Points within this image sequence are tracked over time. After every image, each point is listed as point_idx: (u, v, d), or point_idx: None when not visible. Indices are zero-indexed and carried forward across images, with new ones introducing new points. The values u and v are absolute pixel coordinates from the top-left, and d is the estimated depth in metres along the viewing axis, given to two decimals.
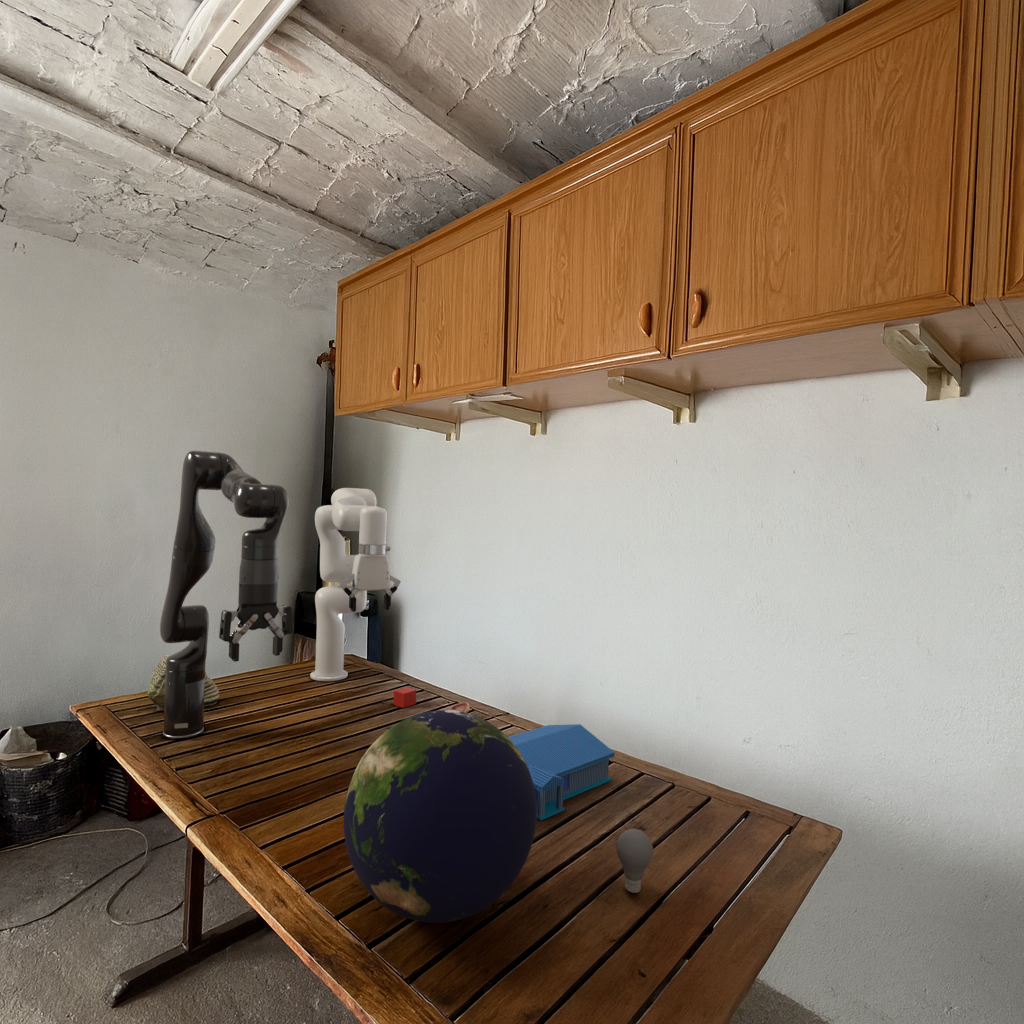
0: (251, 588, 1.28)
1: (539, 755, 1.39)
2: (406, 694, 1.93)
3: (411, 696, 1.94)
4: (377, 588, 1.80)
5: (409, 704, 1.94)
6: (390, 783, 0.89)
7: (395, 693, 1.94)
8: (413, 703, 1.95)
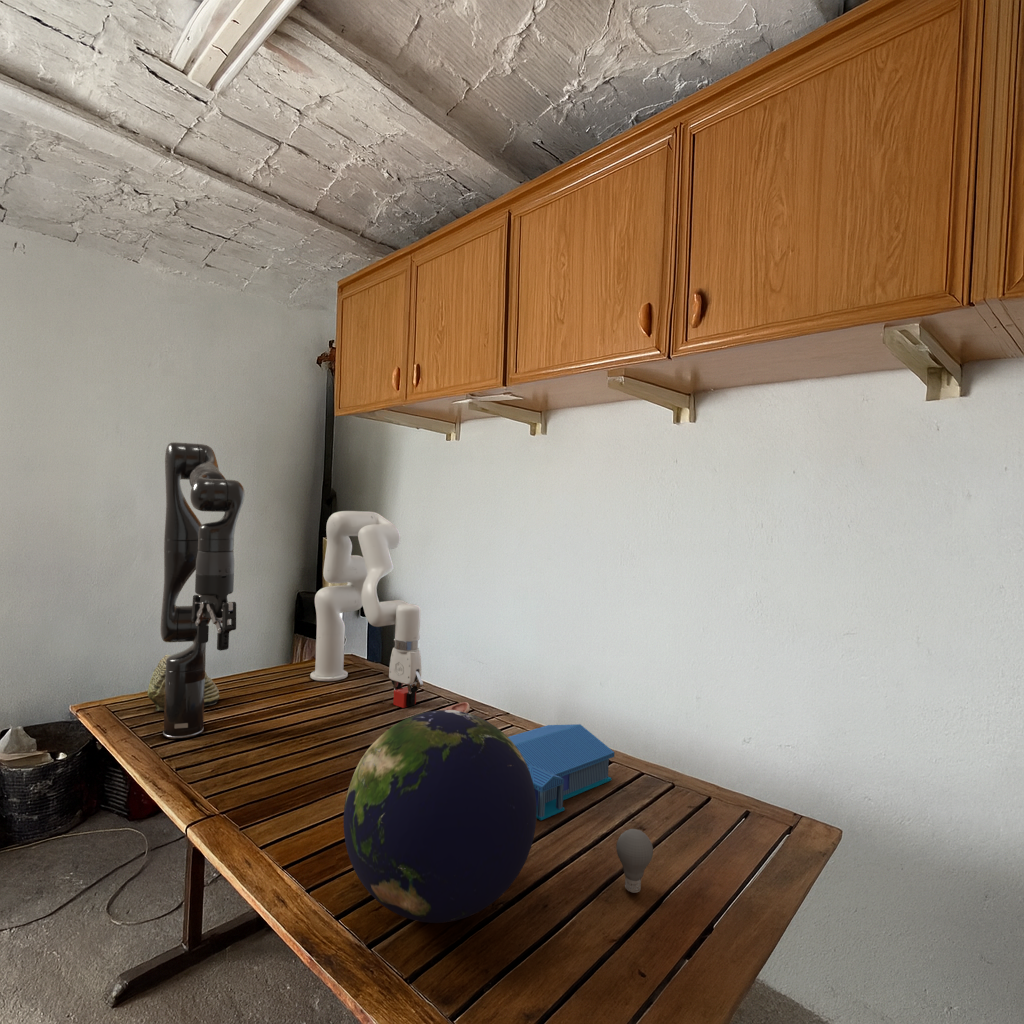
0: (233, 577, 1.37)
1: (539, 755, 1.39)
2: (406, 694, 1.93)
3: None
4: None
5: None
6: (390, 783, 0.89)
7: (395, 693, 1.94)
8: None
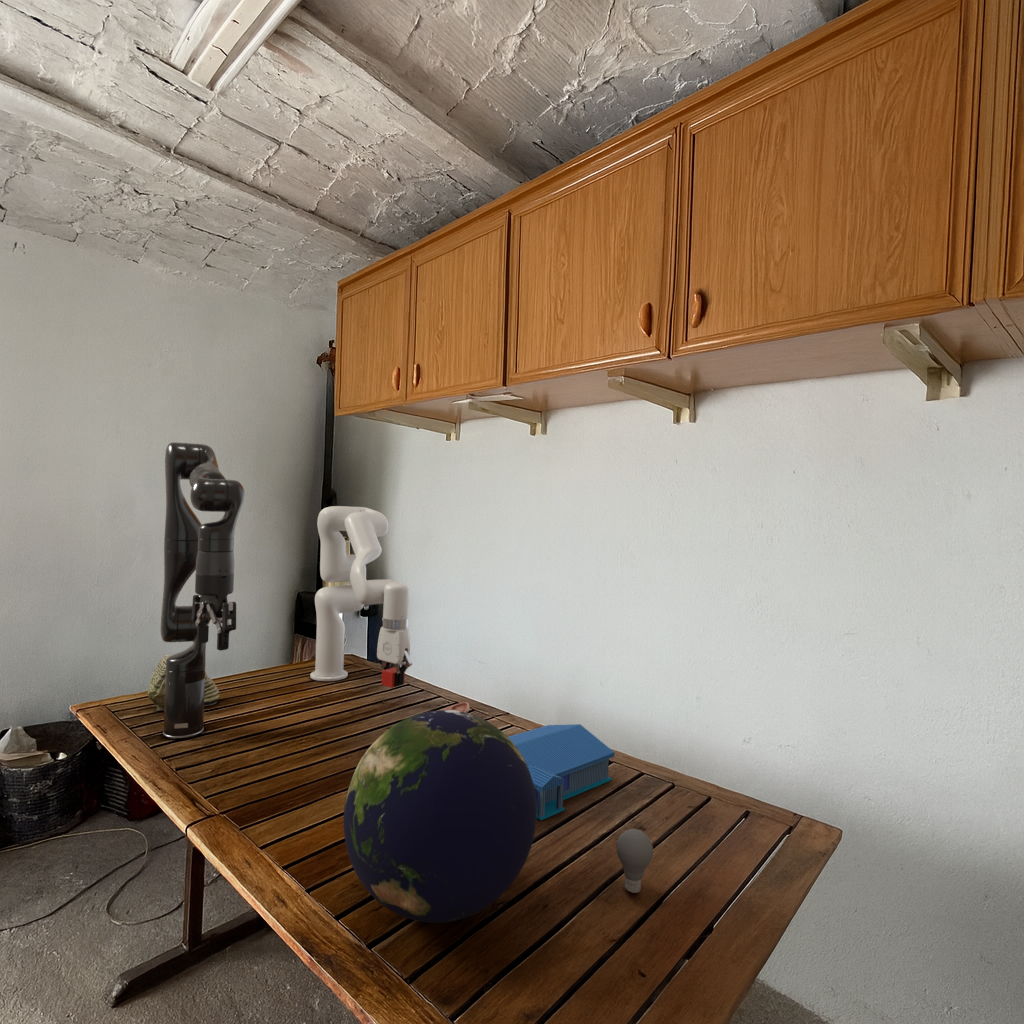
0: (233, 577, 1.37)
1: (539, 755, 1.39)
2: (394, 674, 1.89)
3: None
4: None
5: None
6: (390, 783, 0.89)
7: (383, 673, 1.91)
8: None
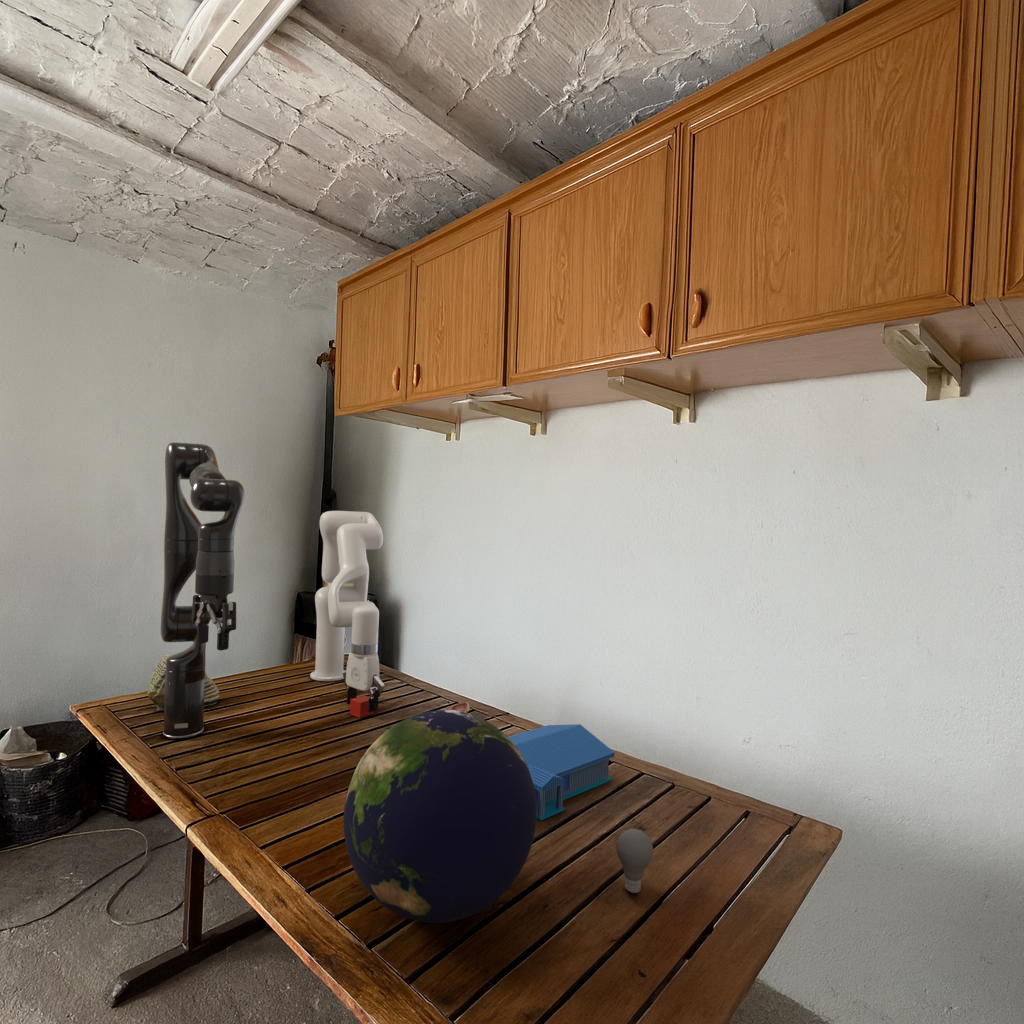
0: (233, 577, 1.37)
1: (539, 755, 1.39)
2: (363, 703, 1.82)
3: None
4: None
5: (366, 714, 1.84)
6: (390, 783, 0.89)
7: (352, 702, 1.84)
8: (371, 713, 1.85)
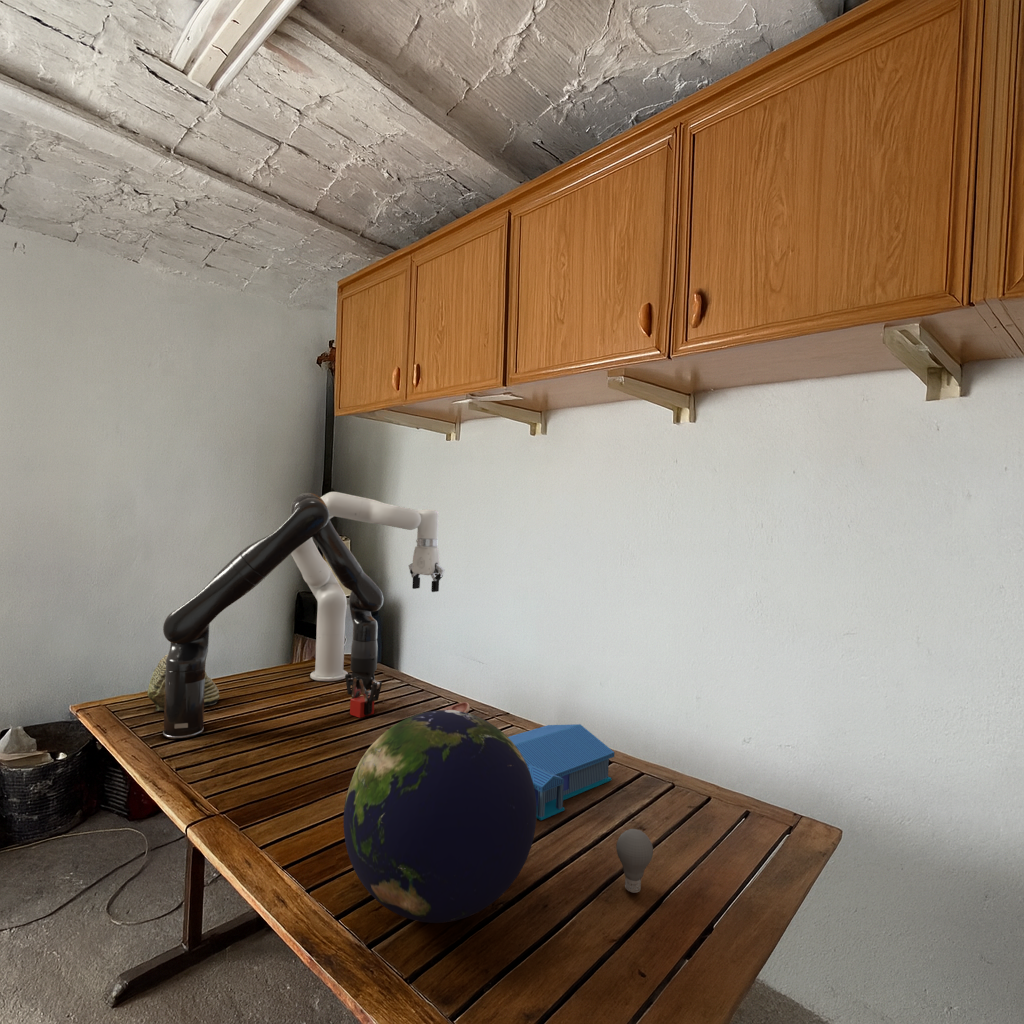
0: None
1: (539, 755, 1.39)
2: (363, 703, 1.82)
3: None
4: None
5: None
6: (390, 783, 0.89)
7: (352, 702, 1.84)
8: (371, 713, 1.85)
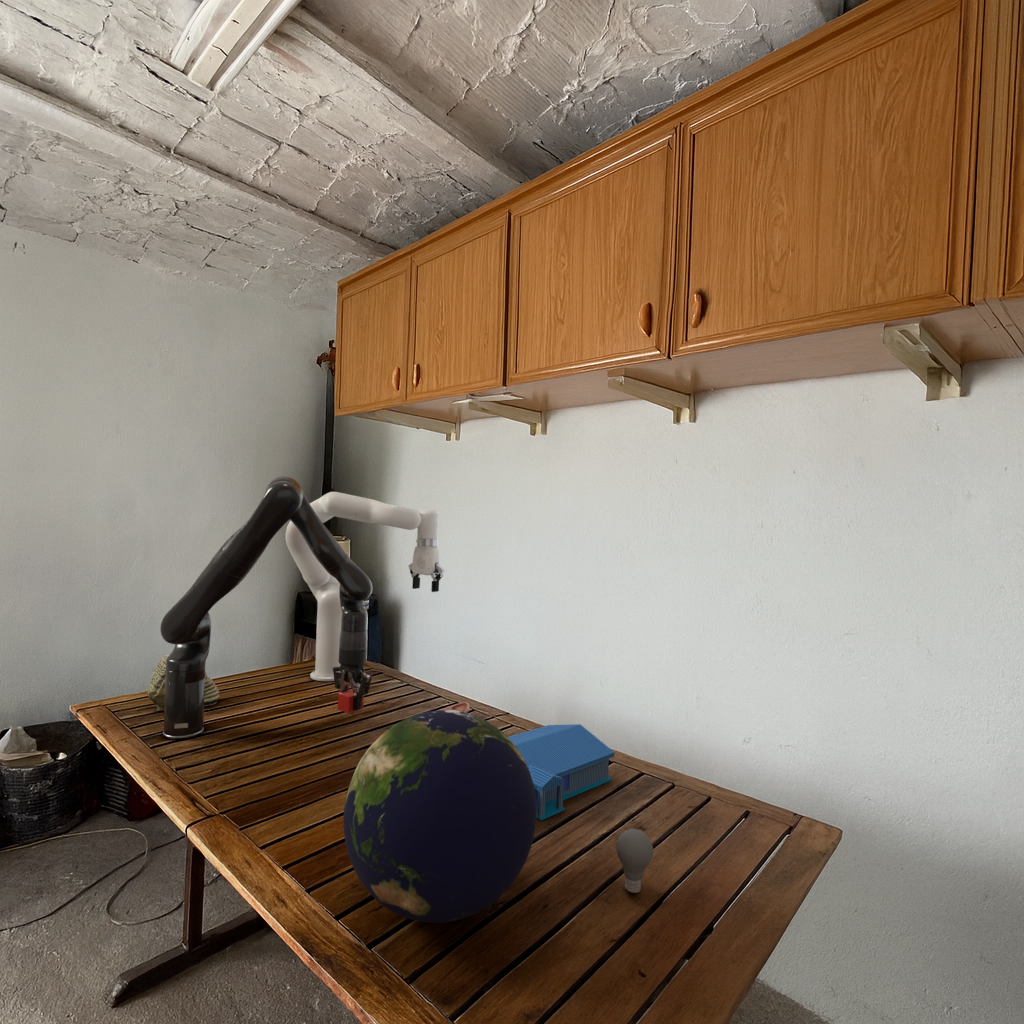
0: None
1: (539, 755, 1.39)
2: (352, 698, 1.72)
3: None
4: None
5: None
6: (390, 783, 0.89)
7: (340, 696, 1.73)
8: None
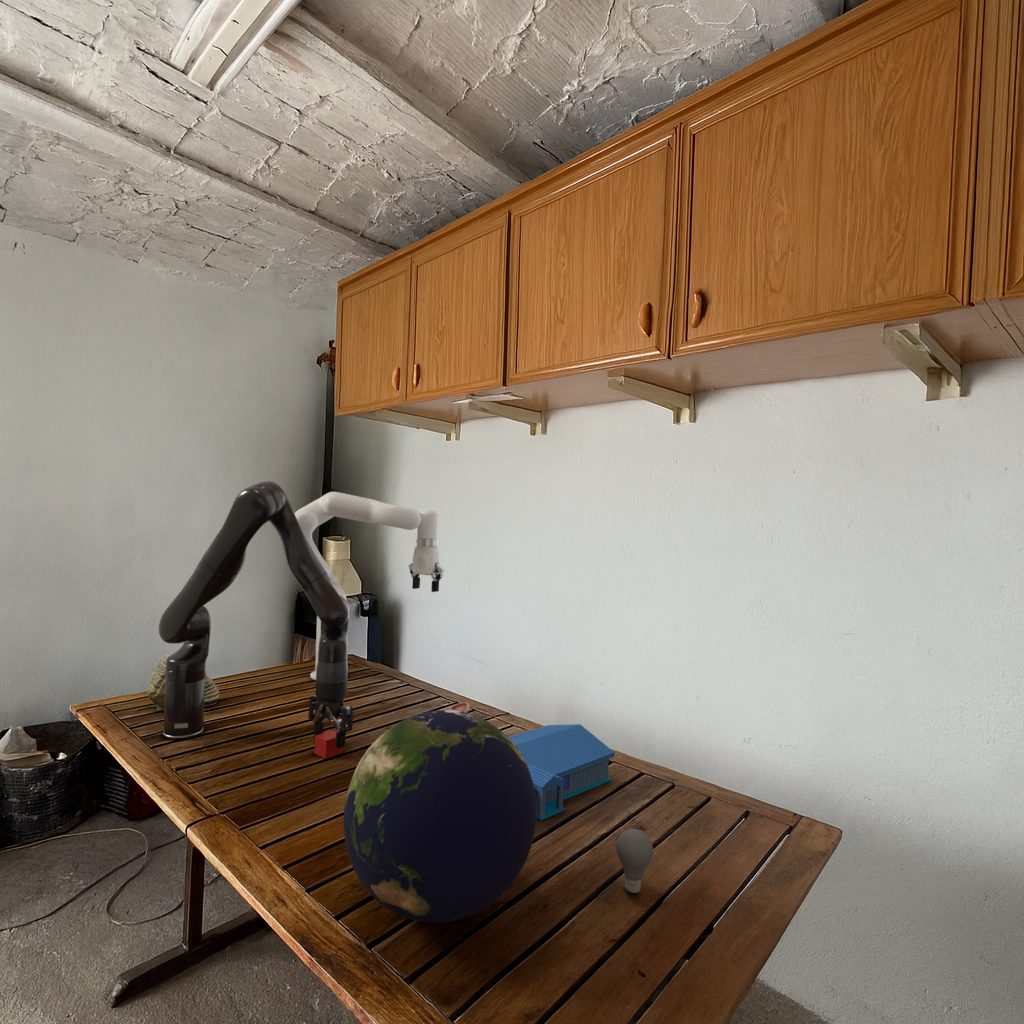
0: None
1: (539, 755, 1.39)
2: (329, 741, 1.54)
3: None
4: None
5: (334, 753, 1.55)
6: (390, 783, 0.89)
7: (316, 739, 1.55)
8: (339, 752, 1.56)
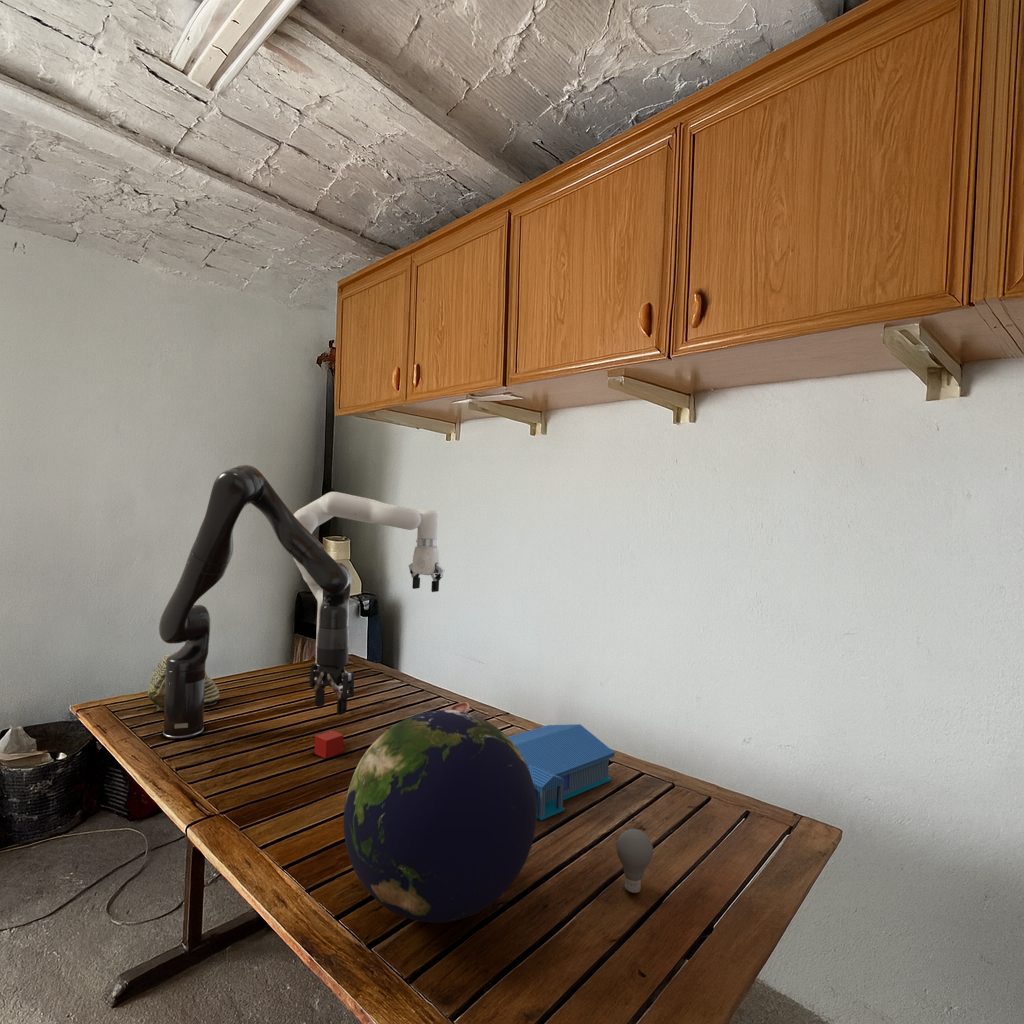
0: (348, 649, 1.56)
1: (539, 755, 1.39)
2: (329, 741, 1.54)
3: (336, 742, 1.55)
4: None
5: (334, 753, 1.55)
6: (390, 783, 0.89)
7: (316, 739, 1.55)
8: (339, 752, 1.56)
